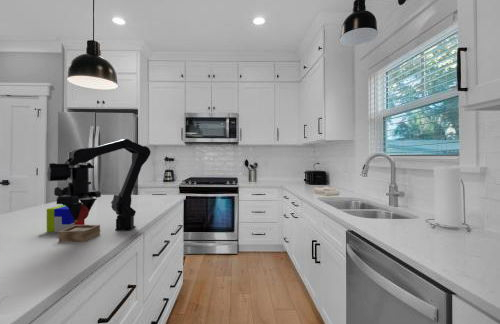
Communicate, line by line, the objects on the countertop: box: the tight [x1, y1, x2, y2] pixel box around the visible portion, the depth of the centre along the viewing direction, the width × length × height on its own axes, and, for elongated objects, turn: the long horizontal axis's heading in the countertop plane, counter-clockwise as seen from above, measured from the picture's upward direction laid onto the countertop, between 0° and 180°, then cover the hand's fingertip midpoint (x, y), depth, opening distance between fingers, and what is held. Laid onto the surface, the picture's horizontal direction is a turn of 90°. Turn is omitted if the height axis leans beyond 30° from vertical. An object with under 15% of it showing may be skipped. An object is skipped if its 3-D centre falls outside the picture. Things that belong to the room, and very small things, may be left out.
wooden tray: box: [58, 224, 101, 242], centre depth 104 cm, size 10×10×4 cm
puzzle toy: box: [46, 204, 86, 233], centre depth 117 cm, size 10×10×10 cm
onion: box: [72, 201, 90, 222], centre depth 104 cm, size 6×6×8 cm
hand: (80, 218), depth 104 cm, fingers closed on onion, 6 cm apart
